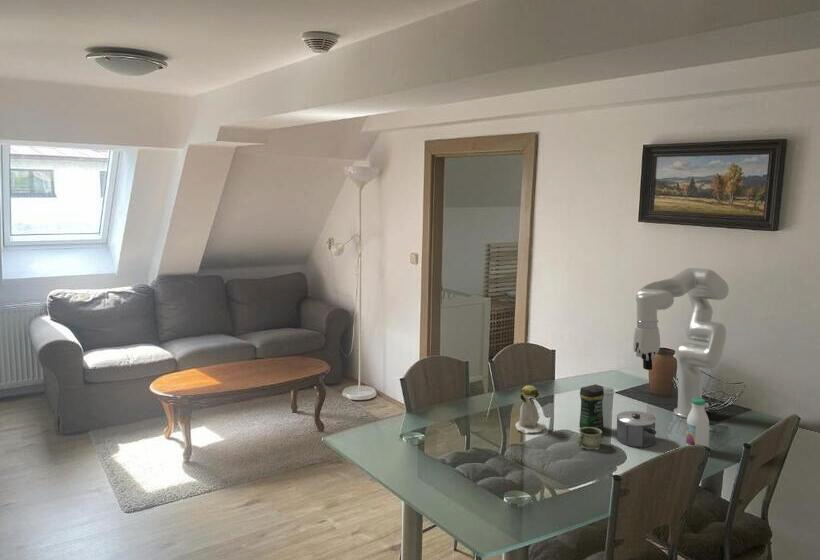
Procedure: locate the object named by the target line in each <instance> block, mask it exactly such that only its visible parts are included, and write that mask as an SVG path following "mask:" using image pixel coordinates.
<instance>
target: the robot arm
mask: <svg viewBox="0 0 820 560" xmlns="http://www.w3.org/2000/svg"><path fill="white" fill-rule="evenodd" d="M729 291H730V290H729V285H728V283H727V281H726V280H725V279H723V278H722V276H720V275H719V274H718V273H717V272H716V271H714V270H712V269H709V268H697V267H696V268H695V267H691V268H690V267H689V268H686V269H683V270H682V271H680V272H679V273H678V272H677V274H675V275H674V276H671V277H670V278H666V279H665V278H664V279H661V280H658V281H653V282H650V283H647V284H646V285H644V286H642V287H641V288H639V290H638V291H637V292H636V296H635V302H636V328H635V329H634V335H633V348H632V349H633V352H635V357H638V358H641V359H642V368H643V369H644V370H647V371H650V370H653V360H654V358H655V355H657V354H658V353H659V352H660V351H659V350H660V348H661V337H660V336H661V335H660V329H659V327H658V323H659V319H658V311H660V310H663V311H664V310H667V309H669V308H671V307H672V306H673V304H674V302H675V301H674V299H675V298H680V297H682V296H684V295H685V294H687V295H688V298H689V300H690V305H691V310H690V315H689V319H688V321H687V327H686V331H685V335H686V338H687V339H688V340H690V341H694V342H699V344H698V343H694V342H683V343H680V344H679V345H678V346H677V347H676V351H675V354H676V361H677V368H678V369H677V370H678V374H677V375H678V376H677V378H678V380H677V381H678V382H677V407H676V408H673V413H674V415H676V416H677V415H678V416H677V417H681V418H685V419H687V418H688V415H689V413H690V411H691V409H692V399H693V398H702V397H703V374H702V371H701V368H703V369H706V370H707V369H708V370H715V369H717V368H718V367H719V365H720V362H721V359H722V355H723V350H724V348H725V343H726V338H727V330H726V326H725V325H724V324H723V323H721V322H717V321H712V316H713V313H714V312H713V308H712V307H713V306H712V305H711V303H710V301H708V300H716V301H722V300H725V299H726V298H727V297H728V295H729ZM700 343H704V344H708V345H703V344H700ZM702 399H703V398H702ZM704 408H705V409H706V408H707V409H708V408H710V404H709V402H705V406H704Z"/></svg>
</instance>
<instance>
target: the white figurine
mask: <svg viewBox="0 0 820 560" xmlns="http://www.w3.org/2000/svg"><path fill="white" fill-rule="evenodd" d="M519 394H520V399H521V401H522V404H521V406H520V408H519V420H518V421H517V422H515V429H516V430H517V431H520V432H521V433H522V434H529V433H530V434H531V433H532V434H533V433H542V432H543V430H545V429H546V426H547V424H546V423H544V421H542V422H541V423H539V419H540V413H539V412H538V408H537V406H536V403H535V402H534V400H537V399H539V398H540V397H541V395H540V392H539V391H538V389H537V388H536V387H535V386H533V385H525V386H523V388H521V390H520V392H519Z"/></svg>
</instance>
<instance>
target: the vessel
mask: <svg viewBox="0 0 820 560" xmlns="http://www.w3.org/2000/svg"><path fill="white" fill-rule="evenodd" d="M603 438H604V433H603V431H602V429H601V430H600V429H598V428H594V427H583V428H580V427H579V435H578V436H577V443H578V447H581V446H583V447H585V448H587V449H586V450H589V449H596V448H599V447H600V448H601V444H602V443H603ZM600 448H599V449H600ZM596 450H597V449H596Z"/></svg>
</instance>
